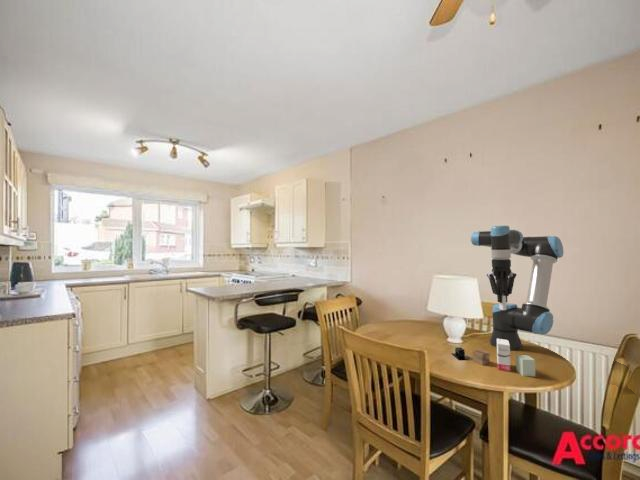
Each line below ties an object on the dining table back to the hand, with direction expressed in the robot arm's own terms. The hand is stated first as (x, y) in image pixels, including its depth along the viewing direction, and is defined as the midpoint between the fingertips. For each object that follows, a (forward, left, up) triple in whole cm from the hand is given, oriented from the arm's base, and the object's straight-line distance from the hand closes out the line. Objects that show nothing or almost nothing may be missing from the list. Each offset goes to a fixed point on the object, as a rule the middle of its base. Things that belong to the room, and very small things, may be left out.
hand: (502, 309), depth 133 cm
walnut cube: (+7, -6, -27) cm, 28 cm away
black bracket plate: (+14, -13, -27) cm, 33 cm away
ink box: (0, 0, -27) cm, 27 cm away
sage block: (-5, +7, -27) cm, 28 cm away
